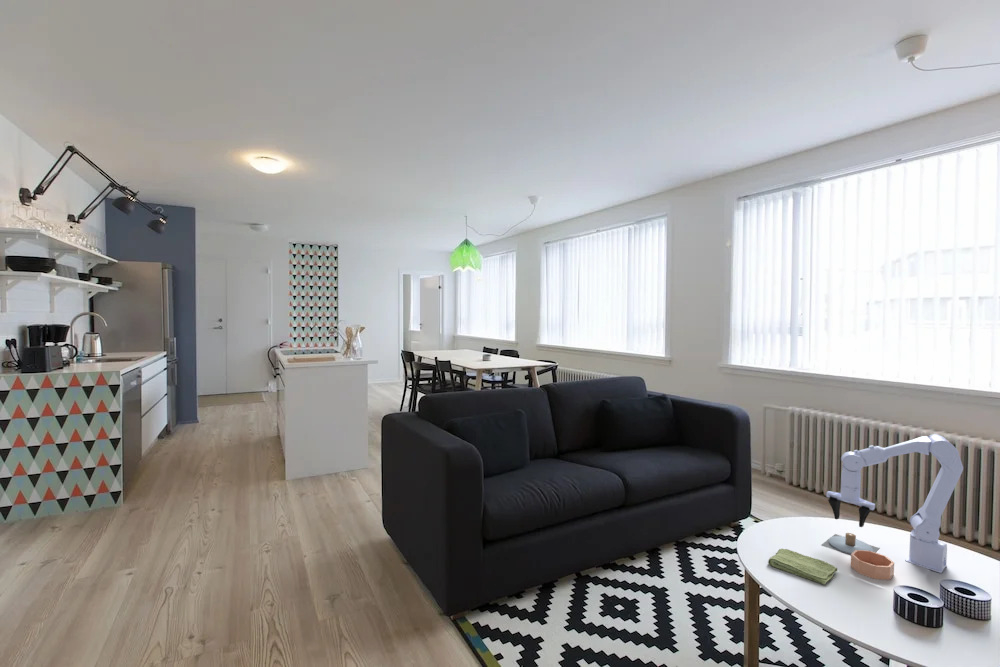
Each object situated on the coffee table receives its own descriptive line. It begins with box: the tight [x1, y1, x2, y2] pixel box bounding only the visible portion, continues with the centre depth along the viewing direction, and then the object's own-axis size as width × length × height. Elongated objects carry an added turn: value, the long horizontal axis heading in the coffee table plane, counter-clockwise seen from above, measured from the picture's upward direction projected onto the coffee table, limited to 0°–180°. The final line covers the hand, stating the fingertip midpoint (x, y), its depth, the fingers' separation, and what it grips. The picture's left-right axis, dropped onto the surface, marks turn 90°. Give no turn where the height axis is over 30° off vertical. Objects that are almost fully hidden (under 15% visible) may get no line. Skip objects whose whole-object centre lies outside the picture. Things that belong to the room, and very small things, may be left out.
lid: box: [828, 532, 873, 555], centre depth 178 cm, size 13×13×4 cm
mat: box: [821, 533, 881, 556], centre depth 178 cm, size 14×14×1 cm
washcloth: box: [767, 548, 838, 586], centre depth 164 cm, size 13×18×3 cm
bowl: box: [850, 550, 895, 581], centre depth 162 cm, size 11×11×4 cm
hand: (848, 522), depth 177 cm, fingers open, 7 cm apart
